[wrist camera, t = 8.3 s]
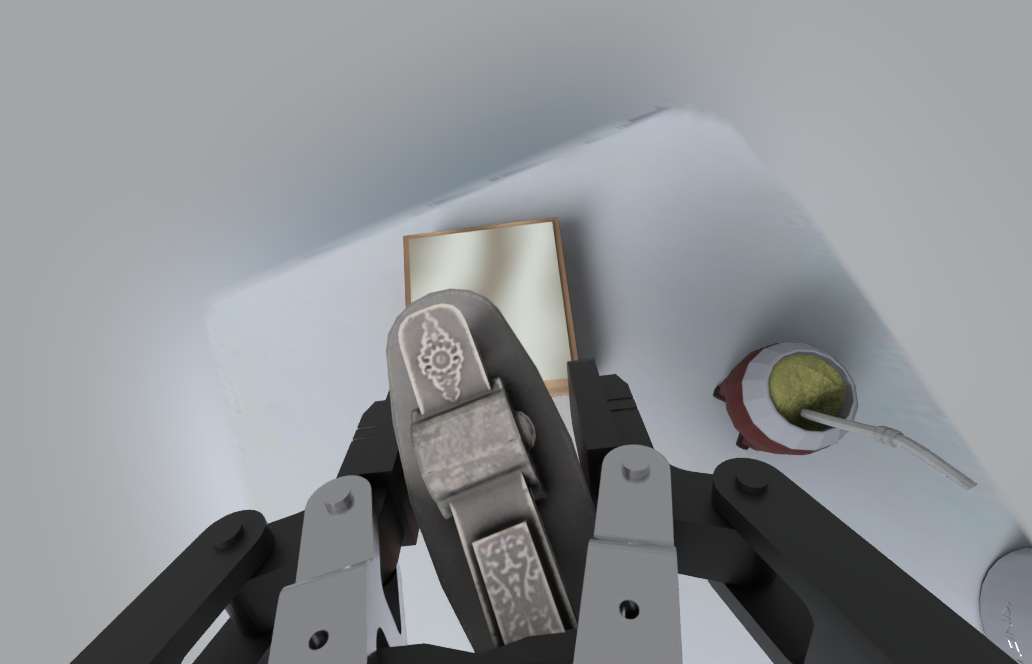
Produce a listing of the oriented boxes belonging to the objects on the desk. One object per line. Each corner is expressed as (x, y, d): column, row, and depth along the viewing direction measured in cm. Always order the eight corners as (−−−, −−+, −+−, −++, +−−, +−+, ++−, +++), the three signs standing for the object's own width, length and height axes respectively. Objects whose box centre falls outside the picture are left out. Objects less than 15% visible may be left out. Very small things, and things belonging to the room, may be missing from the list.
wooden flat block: (557, 241, 41) (558, 215, 37) (578, 393, 37) (581, 383, 33) (416, 258, 41) (402, 234, 37) (423, 410, 37) (407, 402, 33)
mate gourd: (724, 348, 37) (834, 267, 23) (828, 392, 36) (1014, 335, 21) (689, 437, 36) (785, 409, 21) (797, 487, 34) (977, 493, 20)
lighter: (432, 383, 18) (300, 273, 8) (518, 350, 18) (488, 204, 8) (509, 615, 15) (451, 844, 6) (607, 575, 16) (707, 732, 6)
